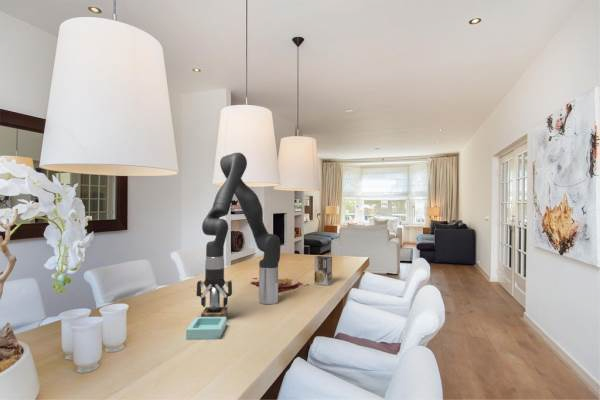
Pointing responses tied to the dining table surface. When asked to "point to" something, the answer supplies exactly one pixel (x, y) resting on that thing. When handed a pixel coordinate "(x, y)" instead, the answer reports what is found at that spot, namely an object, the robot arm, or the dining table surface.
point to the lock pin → (214, 300)
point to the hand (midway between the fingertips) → (214, 306)
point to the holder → (207, 313)
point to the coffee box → (323, 270)
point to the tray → (206, 328)
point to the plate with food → (284, 283)
